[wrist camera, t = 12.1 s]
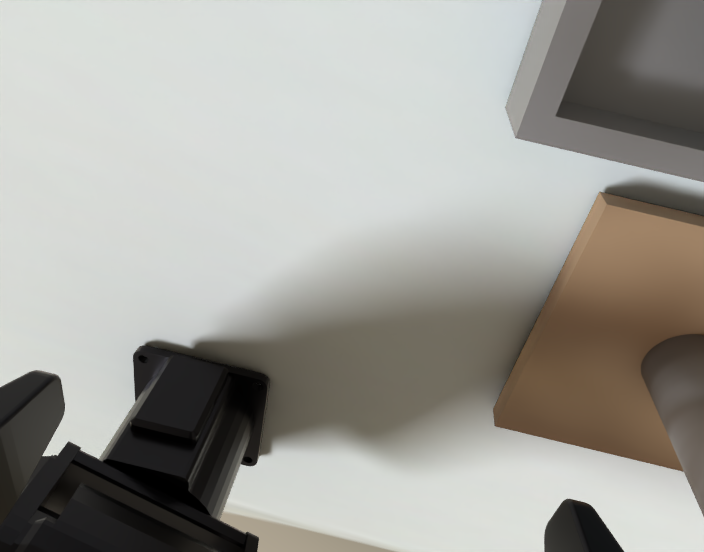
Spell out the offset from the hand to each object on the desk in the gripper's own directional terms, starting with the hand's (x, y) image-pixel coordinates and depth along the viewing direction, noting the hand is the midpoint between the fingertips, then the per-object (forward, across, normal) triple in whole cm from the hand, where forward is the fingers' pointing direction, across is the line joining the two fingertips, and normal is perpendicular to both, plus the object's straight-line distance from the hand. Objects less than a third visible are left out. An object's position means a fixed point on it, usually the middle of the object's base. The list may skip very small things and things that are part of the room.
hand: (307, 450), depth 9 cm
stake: (+12, -13, +4) cm, 18 cm away
